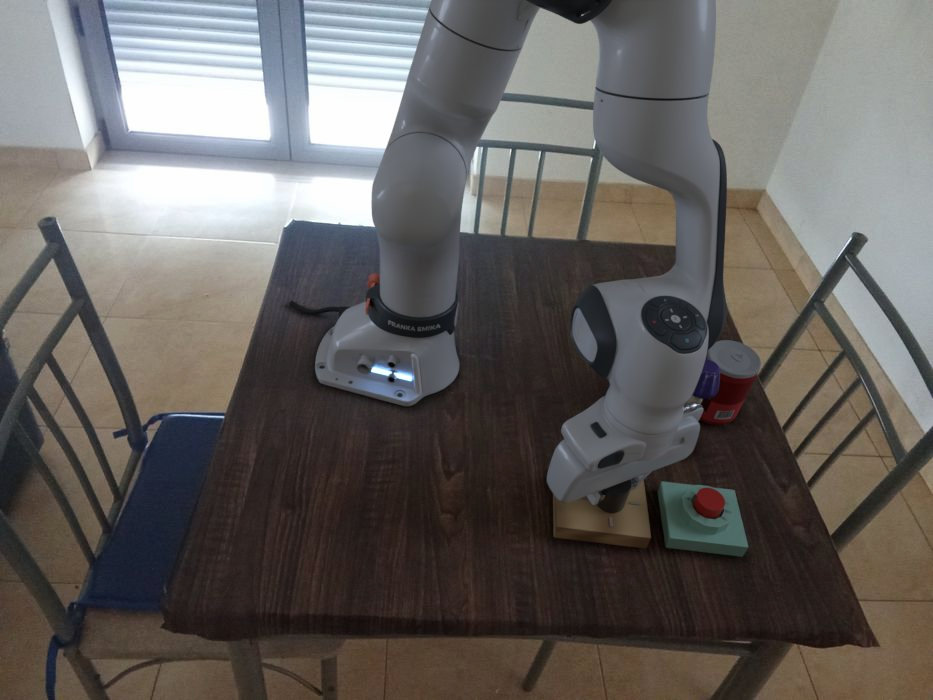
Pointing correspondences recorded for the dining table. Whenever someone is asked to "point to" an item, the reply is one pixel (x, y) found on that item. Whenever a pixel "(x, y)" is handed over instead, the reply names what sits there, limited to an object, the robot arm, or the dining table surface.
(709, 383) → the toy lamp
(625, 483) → the dimmer knob
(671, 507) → the switch block
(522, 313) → the dining table surface
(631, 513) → the dimmer panel
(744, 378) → the canned food
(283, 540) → the dining table surface
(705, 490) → the power button
